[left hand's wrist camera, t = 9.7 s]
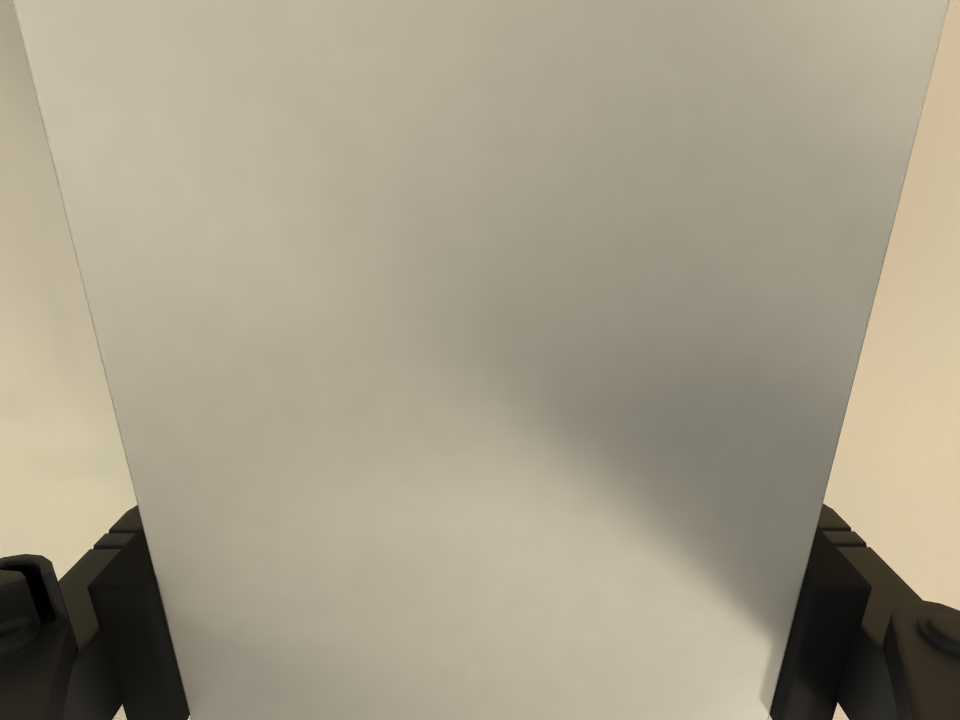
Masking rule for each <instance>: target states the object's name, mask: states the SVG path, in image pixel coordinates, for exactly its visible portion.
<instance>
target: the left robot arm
mask: <svg viewBox="0 0 960 720" xmlns="http://www.w3.org/2000/svg"><path fill="white" fill-rule="evenodd" d="M837 702H838V703H839V705H840V706H841V708H842V709H843V711H844V712H845V714H846V715H847V717H848V718H849V720H960V611H959V610H956V609H953V608H951V607H948V606H945V605H943V604H940V603H934V602H928V601H923V600H922V599H921V598H920V597H919V596H918V595H917V594H916V593H915V592H914V591H913V590H912V589H911V588H910V587H909V586H908V585H907V584H906V583H905V582H904V581H903V580H902V579H901V578H900V577H899V576H898V575H897V574H896V573H895V572H894V571H893V570H892V569H891V568H890V567H889V566H888V565H887V564H886V563H885V562H884V561H883V560H882V559H881V558H880V557H879V556H878V555H877V554H876V553H875V552H874V551H873V550H872V549H871V548H870V547H867V546H866V542H865V541H864V540H863V539H862V538H861V537H860V536H859V535H858V534H857V533H856V532H855V531H851V527H850V526H849V525H848V524H847V523H846V522H845V521H844V520H843V519H842V518H841V517H840V516H839V515H838V514H837V513H836V512H835V511H834V510H833V509H831V508H830V507H828V506H826V505H825V504H822V508H821V512H820V516H819V520H818V524H817V528H816V532H815V536H814V540H813V544H812V547H811V551H810V555H809V559H808V563H807V567H806V571H805V575H804V579H803V583H802V587H801V591H800V595H799V599H798V603H797V607H796V611H795V615H794V619H793V623H792V627H791V631H790V635H789V638H788V642H787V646H786V650H785V654H784V658H783V662H782V666H781V670H780V674H779V678H778V682H777V686H776V690H775V694H774V698H773V702H772V706H771V710H770V716H771V718H772V720H832V719H833V716H834V712H835V709H836V706H837ZM122 704H123V707H124V711H125V714H126V717H127V720H187V719H188V717H189V715H190V713H189V709H188V705H187V701H186V697H185V693H184V689H183V685H182V681H181V677H180V673H179V669H178V665H177V661H176V657H175V653H174V649H173V645H172V641H171V637H170V633H169V629H168V625H167V621H166V617H165V612H164V608H163V604H162V600H161V596H160V592H159V588H158V584H157V580H156V576H155V572H154V568H153V564H152V560H151V556H150V552H149V548H148V544H147V540H146V536H145V532H144V528H143V524H142V520H141V516H140V512H139V508H138V505H137V506H135V507H134V508H132V509H130V510H129V511H127V512H126V513H125V514H124V515H123V516H122V517H121V518H120V519H119V520H118V521H117V522H116V523H115V524H114V525H113V526H112V527H111V528H110V529H109V533H108V534H104V535H103V536H102V538H101V539H100V540H99V541H98V542H97V543H96V544H95V545H94V548H93V549H90V550H89V551H88V552H87V553H86V554H85V555H84V556H83V557H82V558H81V559H80V560H79V561H78V562H77V563H76V564H75V565H74V566H73V567H72V568H71V569H70V570H69V571H68V572H67V573H66V574H65V575H64V576H63V577H62V578H61V579H60V580H59V581H58V580H57V577H56V574H55V571H54V568H53V565H52V562H51V561H50V560H48V559H46V558H45V557H43V556H41V555H30V554H23V555H16V556H10V557H3V558H0V720H112V719H113V718H114V716H115V715H116V713H117V711H118V710H119V708H120V707H121V705H122Z"/></svg>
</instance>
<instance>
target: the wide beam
mask: <svg viewBox="0 0 960 720" xmlns="http://www.w3.org/2000/svg"><path fill="white" fill-rule="evenodd" d="M949 1H950V0H13V4H14V8H15V12H16V16H17V20H18V24H19V28H20V32H21V36H22V40H23V44H24V48H25V52H26V56H27V61H28V65H29V69H30V73H31V77H32V81H33V85H34V89H35V93H36V97H37V101H38V105H39V109H40V113H41V117H42V121H43V125H44V129H45V133H46V137H47V141H48V145H49V149H50V153H51V157H52V161H53V165H54V169H55V173H56V177H57V181H58V185H59V189H60V193H61V197H62V202H63V206H64V210H65V214H66V218H67V222H68V226H69V230H70V234H71V238H72V242H73V246H74V250H75V254H76V258H77V262H78V266H79V270H80V274H81V278H82V282H83V286H84V290H85V294H86V298H87V302H88V306H89V310H90V314H91V318H92V322H93V326H94V330H95V334H96V339H97V343H98V347H99V351H100V355H101V359H102V363H103V367H104V371H105V375H106V379H107V383H108V387H109V391H110V395H111V399H112V403H113V407H114V411H115V415H116V419H117V423H118V427H119V431H120V435H121V439H122V443H123V447H124V451H125V455H126V459H127V463H128V467H129V471H130V475H131V480H132V484H133V488H134V492H135V496H136V500H137V504H138V508H139V512H140V516H141V520H142V524H143V528H144V532H145V536H146V540H147V544H148V548H149V552H150V556H151V560H152V564H153V568H154V572H155V576H156V580H157V584H158V588H159V592H160V596H161V600H162V604H163V608H164V612H165V617H166V621H167V625H168V629H169V633H170V637H171V641H172V645H173V649H174V653H175V657H176V661H177V665H178V669H179V673H180V677H181V681H182V685H183V689H184V693H185V697H186V701H187V705H188V709H189V713H190V717H191V720H768V718H769V714H770V710H771V706H772V702H773V698H774V694H775V690H776V686H777V682H778V678H779V674H780V670H781V666H782V662H783V658H784V654H785V650H786V646H787V642H788V638H789V635H790V631H791V627H792V623H793V619H794V615H795V611H796V607H797V603H798V599H799V595H800V591H801V587H802V583H803V579H804V575H805V571H806V567H807V563H808V559H809V555H810V551H811V547H812V544H813V540H814V536H815V532H816V528H817V524H818V520H819V516H820V512H821V508H822V504H823V500H824V496H825V492H826V488H827V484H828V480H829V476H830V472H831V468H832V464H833V460H834V456H835V453H836V449H837V445H838V441H839V437H840V433H841V429H842V425H843V421H844V417H845V413H846V409H847V405H848V401H849V397H850V393H851V389H852V385H853V381H854V377H855V373H856V369H857V365H858V361H859V358H860V354H861V350H862V346H863V342H864V338H865V334H866V330H867V326H868V322H869V318H870V314H871V310H872V306H873V302H874V298H875V294H876V290H877V286H878V282H879V278H880V274H881V270H882V267H883V263H884V259H885V255H886V251H887V247H888V243H889V239H890V235H891V231H892V227H893V223H894V219H895V215H896V211H897V207H898V203H899V199H900V195H901V191H902V187H903V183H904V179H905V176H906V172H907V168H908V164H909V160H910V156H911V152H912V148H913V144H914V140H915V136H916V132H917V128H918V124H919V120H920V116H921V112H922V108H923V104H924V100H925V96H926V92H927V88H928V85H929V81H930V77H931V73H932V69H933V65H934V61H935V57H936V53H937V49H938V45H939V41H940V37H941V33H942V29H943V25H944V21H945V17H946V13H947V9H948V5H949Z"/></svg>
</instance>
